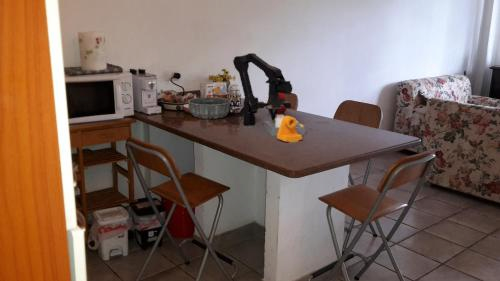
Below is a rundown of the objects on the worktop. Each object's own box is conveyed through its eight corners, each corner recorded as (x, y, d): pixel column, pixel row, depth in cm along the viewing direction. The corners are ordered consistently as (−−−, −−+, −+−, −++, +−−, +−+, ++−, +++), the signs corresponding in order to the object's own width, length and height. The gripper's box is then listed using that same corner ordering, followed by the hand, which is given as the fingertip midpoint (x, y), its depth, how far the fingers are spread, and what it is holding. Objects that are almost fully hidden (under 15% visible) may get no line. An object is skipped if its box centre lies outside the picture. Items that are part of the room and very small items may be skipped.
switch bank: (271, 135, 239) (271, 127, 238) (264, 127, 256) (264, 119, 255) (304, 135, 242) (305, 126, 241) (295, 127, 259) (295, 119, 258)
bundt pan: (198, 122, 266) (198, 105, 263) (181, 114, 288) (181, 98, 285) (238, 118, 279) (238, 102, 276) (219, 111, 301) (219, 96, 298)
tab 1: (276, 126, 251) (276, 115, 250) (275, 125, 254) (275, 114, 253) (283, 126, 252) (284, 115, 251) (282, 124, 255) (282, 114, 253)
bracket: (284, 143, 225) (285, 119, 222) (276, 139, 231) (277, 116, 228) (302, 140, 230) (304, 117, 227) (294, 137, 236) (295, 114, 233)
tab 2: (276, 130, 241) (276, 119, 240) (274, 129, 244) (275, 118, 243) (283, 130, 242) (284, 119, 241) (282, 129, 245) (282, 118, 243)
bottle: (288, 118, 285) (289, 85, 280) (266, 117, 285) (267, 85, 280) (286, 113, 300) (288, 82, 295) (266, 112, 300) (267, 81, 295)
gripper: (259, 94, 238) (258, 123, 242) (294, 94, 242) (293, 123, 246) (255, 91, 249) (255, 119, 253) (289, 91, 252) (287, 119, 256)
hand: (272, 120), depth 252 cm, fingers closed
